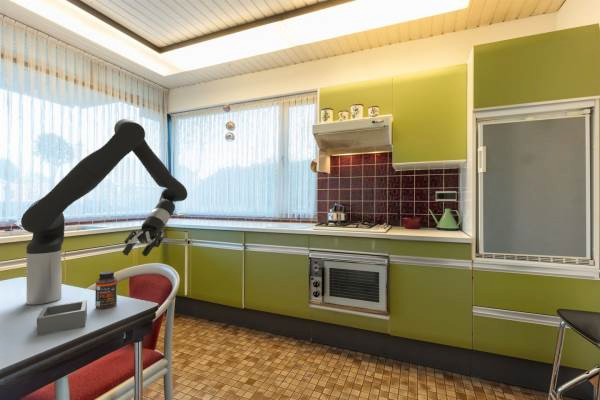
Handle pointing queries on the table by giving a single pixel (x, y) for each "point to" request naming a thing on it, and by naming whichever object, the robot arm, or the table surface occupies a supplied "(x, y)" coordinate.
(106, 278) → the supplement bottle
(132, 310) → the table surface
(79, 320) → the open box
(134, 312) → the table surface
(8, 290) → the table surface
